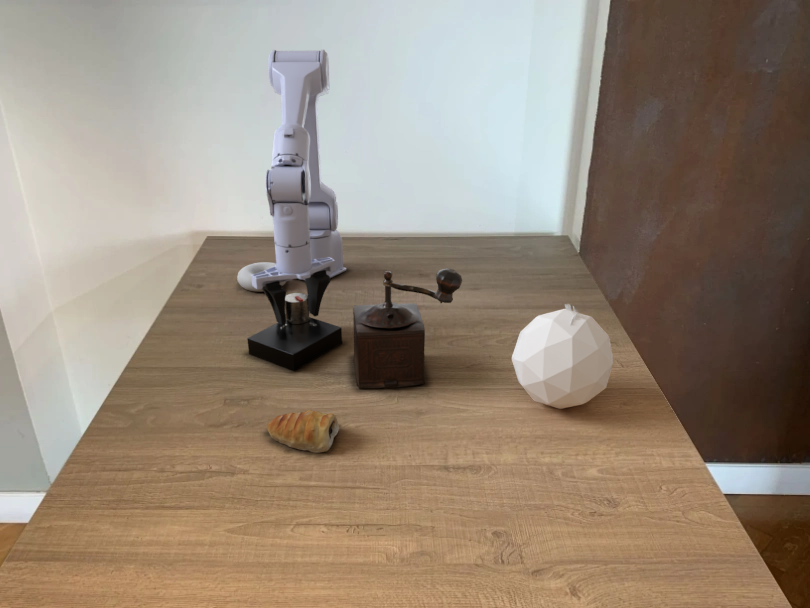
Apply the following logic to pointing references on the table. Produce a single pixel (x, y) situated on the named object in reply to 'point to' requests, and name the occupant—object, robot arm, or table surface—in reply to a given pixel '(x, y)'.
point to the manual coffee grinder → (395, 335)
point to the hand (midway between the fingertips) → (297, 318)
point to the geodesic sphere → (563, 358)
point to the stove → (295, 342)
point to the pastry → (305, 430)
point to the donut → (249, 270)
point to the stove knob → (297, 308)
